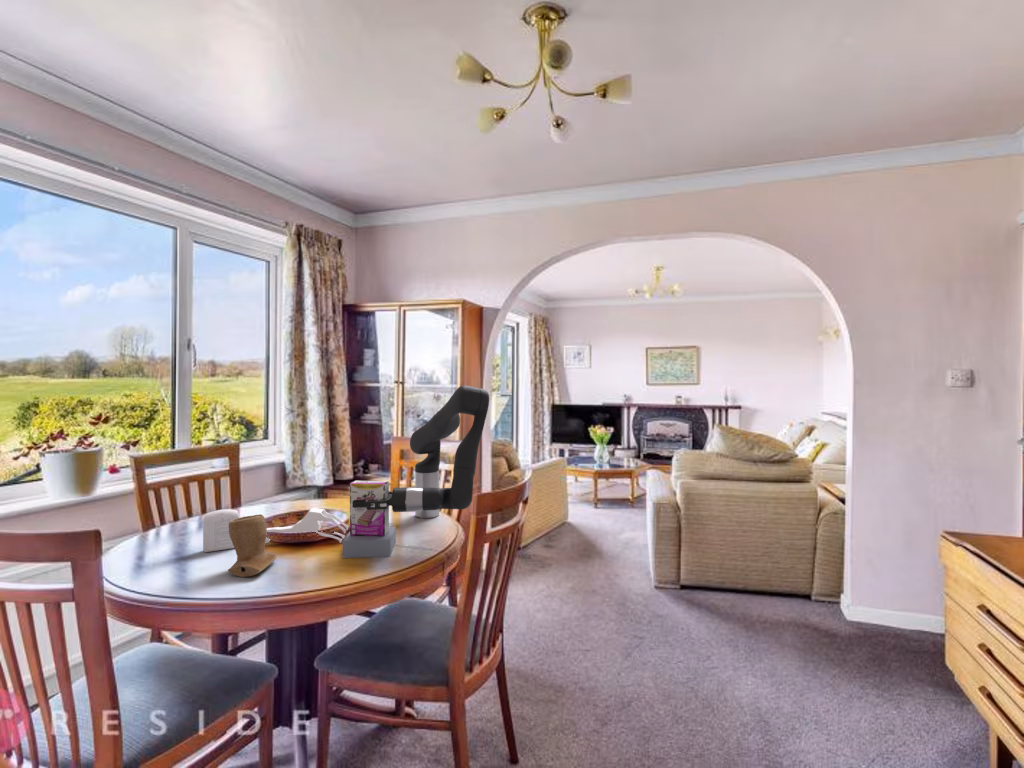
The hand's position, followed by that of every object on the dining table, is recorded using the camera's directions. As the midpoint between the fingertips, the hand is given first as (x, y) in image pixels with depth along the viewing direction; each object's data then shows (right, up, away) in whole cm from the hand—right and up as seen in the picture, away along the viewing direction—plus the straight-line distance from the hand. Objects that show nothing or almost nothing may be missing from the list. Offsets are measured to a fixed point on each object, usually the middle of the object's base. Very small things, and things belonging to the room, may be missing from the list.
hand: (355, 500), depth 170 cm
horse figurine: (-19, -16, +9) cm, 27 cm away
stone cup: (-25, -16, -16) cm, 34 cm away
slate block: (+4, -15, +1) cm, 16 cm away
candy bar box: (+4, -11, 0) cm, 12 cm away
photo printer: (-43, -16, +2) cm, 46 cm away
